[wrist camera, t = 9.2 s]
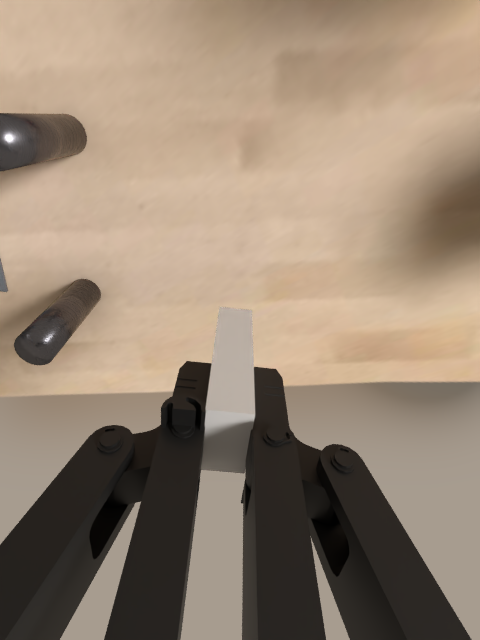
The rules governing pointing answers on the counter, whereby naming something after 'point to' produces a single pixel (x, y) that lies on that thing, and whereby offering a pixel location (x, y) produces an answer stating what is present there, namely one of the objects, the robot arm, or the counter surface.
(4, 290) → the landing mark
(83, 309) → the far post
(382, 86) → the counter surface
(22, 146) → the near post
